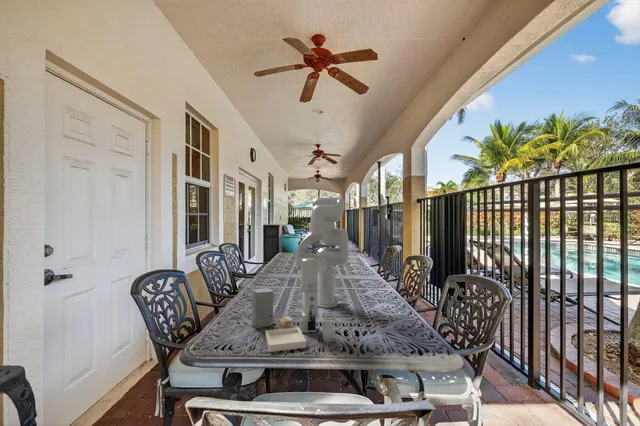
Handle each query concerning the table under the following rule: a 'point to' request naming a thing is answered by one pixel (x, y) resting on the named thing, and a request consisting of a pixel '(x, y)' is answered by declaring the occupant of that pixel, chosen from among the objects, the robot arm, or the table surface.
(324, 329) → the grey dowel
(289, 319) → the beech block
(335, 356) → the table surface
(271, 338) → the tray
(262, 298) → the skincare box
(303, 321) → the skincare box
